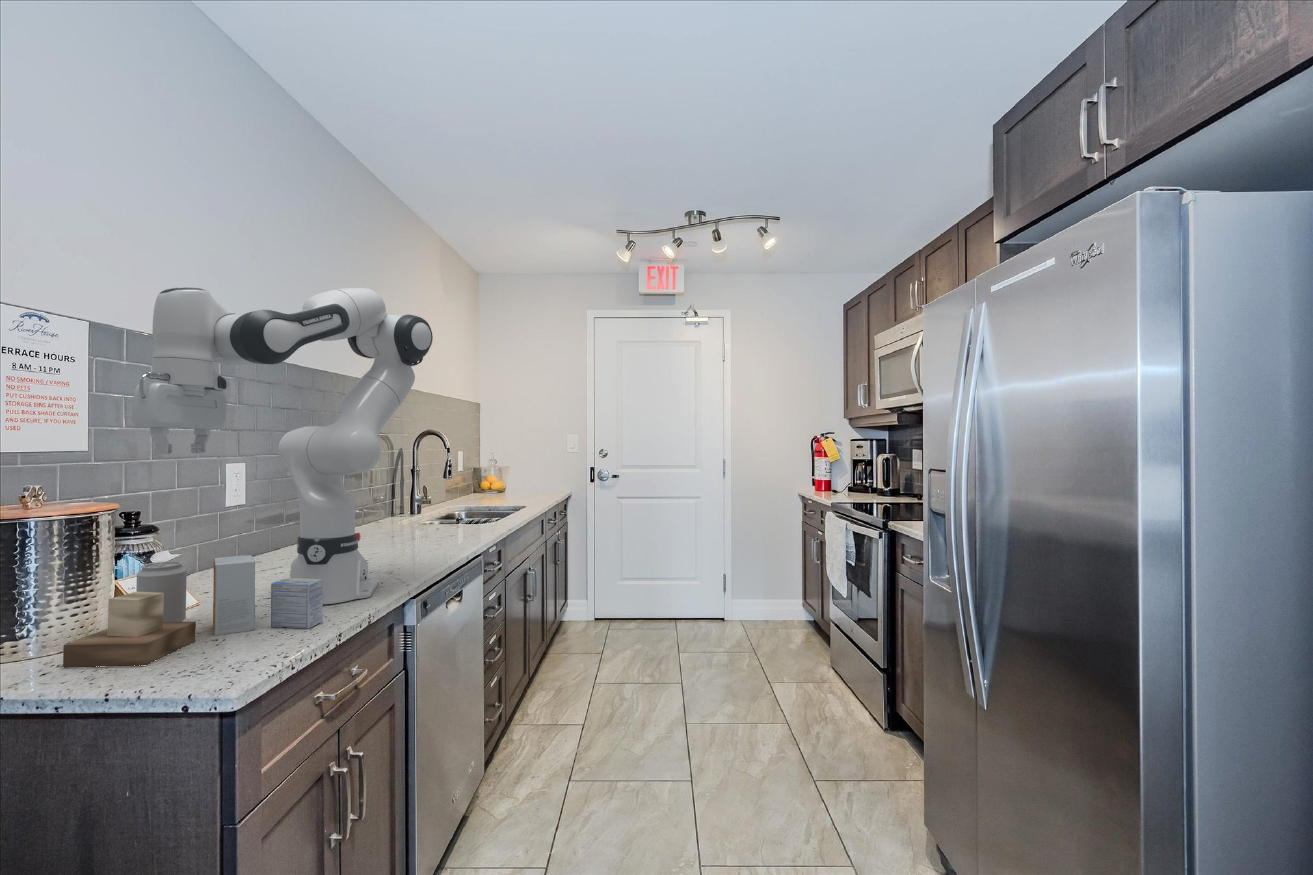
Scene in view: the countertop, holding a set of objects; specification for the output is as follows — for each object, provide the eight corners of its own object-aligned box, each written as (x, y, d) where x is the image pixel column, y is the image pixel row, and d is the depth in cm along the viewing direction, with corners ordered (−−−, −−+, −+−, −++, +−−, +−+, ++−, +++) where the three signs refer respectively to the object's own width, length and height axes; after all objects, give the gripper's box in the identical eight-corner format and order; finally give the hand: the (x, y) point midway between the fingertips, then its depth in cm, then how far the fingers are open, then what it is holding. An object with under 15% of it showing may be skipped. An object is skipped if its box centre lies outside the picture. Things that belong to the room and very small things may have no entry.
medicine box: (323, 622, 121) (324, 578, 121) (308, 629, 117) (309, 583, 117) (285, 621, 122) (286, 577, 122) (269, 628, 118) (270, 582, 118)
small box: (212, 625, 119) (213, 557, 119) (251, 620, 123) (252, 554, 123) (213, 636, 112) (214, 564, 112) (255, 630, 116) (256, 560, 116)
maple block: (135, 626, 106) (136, 591, 106) (162, 628, 105) (164, 592, 105) (107, 635, 101) (108, 598, 101) (136, 637, 100) (137, 600, 100)
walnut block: (122, 645, 108) (122, 622, 108) (195, 644, 109) (195, 621, 109) (62, 670, 96) (63, 645, 96) (145, 669, 97) (146, 643, 97)
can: (162, 632, 114) (164, 567, 114) (124, 631, 114) (125, 566, 115) (195, 621, 121) (196, 560, 122) (159, 619, 122) (160, 559, 122)
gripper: (161, 370, 101) (160, 455, 101) (234, 382, 122) (232, 453, 121) (120, 369, 101) (118, 454, 100) (199, 382, 121) (198, 452, 121)
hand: (181, 453), depth 111 cm, fingers open, 8 cm apart
